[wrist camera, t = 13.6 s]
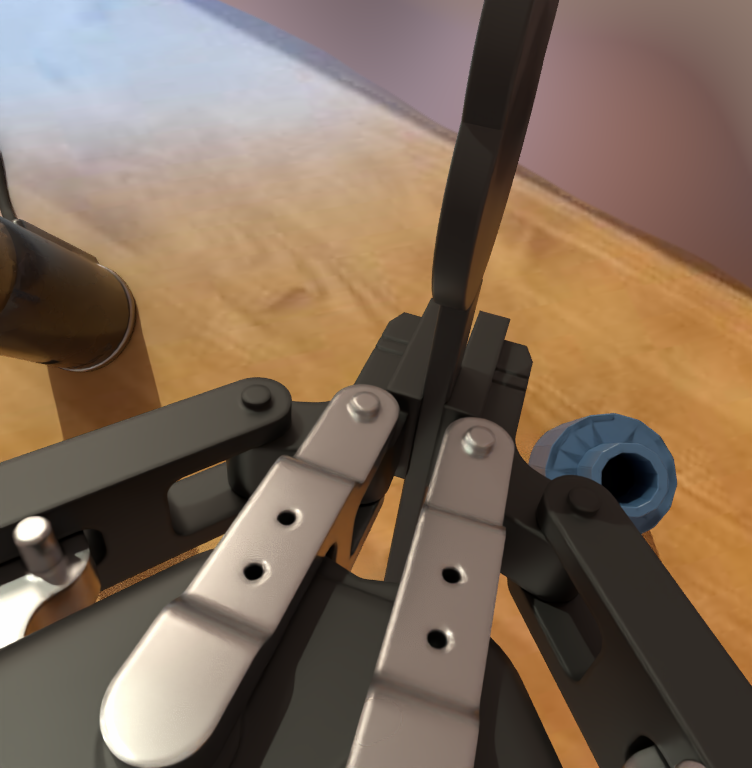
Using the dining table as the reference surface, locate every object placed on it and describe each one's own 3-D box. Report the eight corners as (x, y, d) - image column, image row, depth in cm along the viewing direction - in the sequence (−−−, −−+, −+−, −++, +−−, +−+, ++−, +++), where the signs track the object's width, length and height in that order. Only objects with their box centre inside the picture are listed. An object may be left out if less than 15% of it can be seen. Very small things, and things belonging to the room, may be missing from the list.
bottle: (511, 449, 48) (530, 449, 32) (594, 406, 48) (657, 383, 31) (557, 534, 47) (601, 577, 31) (643, 490, 46) (734, 512, 30)
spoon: (329, 818, 24) (511, -182, 5) (367, 702, 27) (563, -166, 8) (341, 823, 23) (571, -172, 5) (379, 707, 27) (601, -160, 8)
